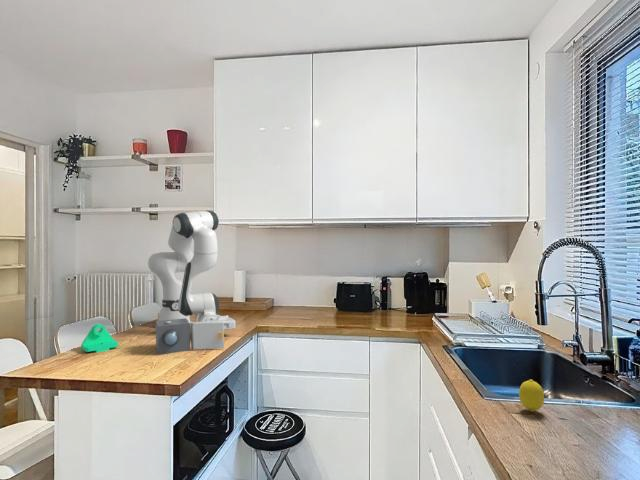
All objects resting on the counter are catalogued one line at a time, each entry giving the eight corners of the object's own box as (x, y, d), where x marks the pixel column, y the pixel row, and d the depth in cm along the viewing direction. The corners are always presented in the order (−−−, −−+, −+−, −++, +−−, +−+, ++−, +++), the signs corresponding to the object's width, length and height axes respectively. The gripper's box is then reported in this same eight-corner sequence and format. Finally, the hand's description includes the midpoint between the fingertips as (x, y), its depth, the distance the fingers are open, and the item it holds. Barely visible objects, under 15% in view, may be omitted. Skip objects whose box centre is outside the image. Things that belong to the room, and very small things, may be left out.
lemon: (523, 416, 97) (523, 382, 97) (516, 406, 102) (515, 375, 102) (548, 417, 96) (547, 384, 96) (539, 407, 101) (538, 376, 101)
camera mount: (86, 354, 156) (86, 328, 156) (81, 351, 162) (81, 325, 162) (119, 349, 165) (118, 324, 165) (113, 345, 170) (112, 321, 170)
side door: (224, 347, 162) (223, 322, 162) (223, 348, 161) (223, 322, 161) (191, 348, 161) (191, 323, 161) (190, 349, 159) (190, 323, 160)
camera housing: (155, 347, 166) (155, 319, 166) (186, 343, 171) (185, 316, 171) (158, 355, 153) (158, 325, 153) (191, 351, 158) (190, 322, 158)
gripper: (186, 318, 183) (191, 324, 170) (231, 314, 192) (238, 319, 179) (186, 332, 183) (191, 338, 170) (231, 328, 192) (238, 333, 179)
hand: (216, 329), depth 175 cm, fingers closed
